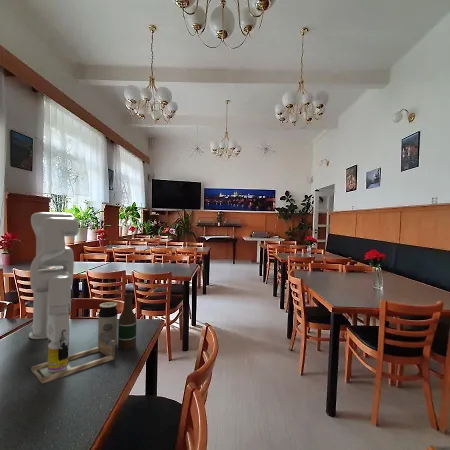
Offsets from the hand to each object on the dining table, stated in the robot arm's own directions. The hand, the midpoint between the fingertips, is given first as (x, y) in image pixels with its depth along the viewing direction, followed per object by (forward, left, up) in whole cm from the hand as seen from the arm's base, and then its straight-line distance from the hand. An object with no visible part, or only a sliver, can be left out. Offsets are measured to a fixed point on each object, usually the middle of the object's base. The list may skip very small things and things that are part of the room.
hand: (58, 354), depth 111 cm
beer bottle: (+7, +28, -6) cm, 29 cm away
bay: (+2, +6, -6) cm, 8 cm away
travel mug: (-3, +26, -6) cm, 27 cm away
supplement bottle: (0, 0, -6) cm, 6 cm away
